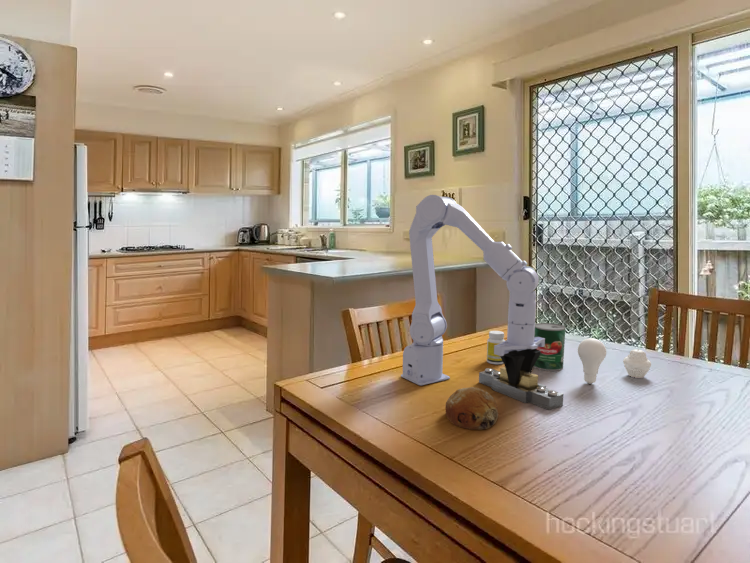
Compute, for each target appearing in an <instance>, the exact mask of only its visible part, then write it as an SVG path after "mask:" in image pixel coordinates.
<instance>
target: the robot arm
mask: <svg viewBox="0 0 750 563" xmlns="http://www.w3.org/2000/svg"><path fill="white" fill-rule="evenodd" d="M445 225H446V226H450V227H454V228H458V230H460V231H461V232H462V233H463V234H464V235H465V236H466V237H467V238H468V239H469V240H470V241H472V242H473V244H475V245H476V246H477V247H478V248H479V249H480V250H481V251H482V252H483V260H484V262H485V263H486V264H487V265H488V266H489V267H490V268H491V269H492V270H493V271H494V272H495V273H496V274H497V275H498V276H499V277H500V278H501V279H502V280H503V281H505V282H506V288H507V290H508V291H509V299H508V300H509V301H508V310H507V311H508V312H507V330H506V332H507V335H506V340H505V341H504V342H502V343H500V344H498V345H494V354H496V355H499V356H500V357H501V359H502V361H503V365H504V367H505V368H506V372H507V376H508V381H509V383H512V384H514V385H517V384H518V382H519V376H520V370H523V371H526V372H530V373H532V372H533V369H534V368H535V367H534V364H535V363H536V361H537V359H538V358H539V356H540V355H541V351H540V350H536V349H537V348H538V347H539V346H540V347H544V346H545V338H541V337H534V334H535V324H536V316H537V315H536V312H537V310H536V309H537V302H536V299H537V293H536V292H537V291H536V289H537V287H538V285H539V281H540V279H539V278H540V277H539V275H538V273H537V272H536V269H535V268H533V267H531V266H528V262H527V261H526V260H522V259H521V258H520V257H519V256H518V255H517V254H516V253H514V251H513V250H512V249H513V246H512V245H511V244H510V243H506V244H505V242H504V241H495V240H494V239H492V237H491V236H490V235H489V233H487V232H486V231H485V229H484V228H482V227H481V225H480V224H479V223H478V222H477V221H476V220H475V218H473V217H472V215H470V213H469V212H468V211H467V210H466V209H465V208H464V207H463V206H462V205H460V204H459V203H457V202H456V201H455V200H454V199H453V198H452V197H449V196H441V195H437V194H429V195H427V196H425V197H424V198H423V199H422V200H421V201H420V202H419V203H417V205H416V207H415V214H414V216H413V220H412V222H411V224H410V228H409V229H408V235H409V238H408V239H409V245H410V246H409V247H410V257H411V267H412V268H411V269H412V276H413V277H412V279H413V289H414V300H415V301H414V302H415V306H414V308H413V310H412V312H411V323H410V326H409V335H410V338H411V339H412V341H413V342H412V343H411V344H409V345H406V346H405V347H404V349H403V352H402V374H400V377H401V378H404V379H406V380H407V381H410V382H411V383H413V384H416V385H418V386H424V385H428V384H433V383H438V382H441V381H442V382H443V381H446V380H449V379H451V376H449V375H447V374H445V373H443V369H444V368H443V364H444V363H443V362H444V360H443V359H444V338H443V335H445V332H446V331H447V328H448V323H447V320H446V318H445V317H444V314H443V310H442V306H441V305H440V303H439V302H438V301H439V300H438V292H437V279H436V271H435V261H434V260H435V259H434V248H433V236H435V234H437V232H438V231H439V230H440V229H441V228H442V227H444V226H445Z"/></svg>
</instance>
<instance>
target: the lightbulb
mask: <svg viewBox="0 0 750 563" xmlns="http://www.w3.org/2000/svg"><path fill="white" fill-rule="evenodd" d="M577 355H578V356H579V359H580V361H581V363H582V368H583V369H582V370H583V371H582V372H583V373H584V375H583V380H584V382H586V383H587V384H590V385H592V384H595V383H596V381H597V375H598V374H599V369H600V367H601V364H602V363H603V361H605V359H606V356H607V348H606V346H605V344H604V343H603V342H602V341H601V340H599V339H597V338H593V337H592V338H591V337H590V338H585V339H584V340H582V341H581V342H580V343H579V344H578V347H577Z"/></svg>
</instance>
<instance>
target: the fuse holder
mask: <svg viewBox="0 0 750 563" xmlns="http://www.w3.org/2000/svg"><path fill="white" fill-rule="evenodd" d="M478 374H479V375H478V383H480V384H482V385H484V386H487V387H489V388H491V390H492V391H495V392H497V393H499V394H502V395H504V396H507V397H509V398H512V399H514V400H516V401H519V402H522V403H524V404H527V403H530V404H532V405H535V406H537V407H540V408H543V409H545V410H547V411H551V410H554V409H557V408H559V407H562V406H564V393H562V392H559V391H557V390H554V389H550V388H548V387H547V385H545V384H542V383H539V382H538V387H537V389H534V390H531V391H528V390H525V389H523V388H520V387H517V386H515V385H512V384H509V383H507V382H504V381H501V380H500V371H499V370H496V369H495V368H494V369H493V368H491V367H490V368H489V367H488V368H485V369H484V370H483V371H480V372H478Z"/></svg>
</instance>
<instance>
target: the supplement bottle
mask: <svg viewBox="0 0 750 563" xmlns="http://www.w3.org/2000/svg"><path fill="white" fill-rule="evenodd" d="M504 341H506V340H505V333H504V331H500V330H490V331H489V332H488V338H487V340H486V342H487V344H486V362H487V363H488V364H491V365H504V363H503V361H502V359H501V357H500V356H499V355H496V354H494V345H498V344H500V343H502V342H504Z"/></svg>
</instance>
